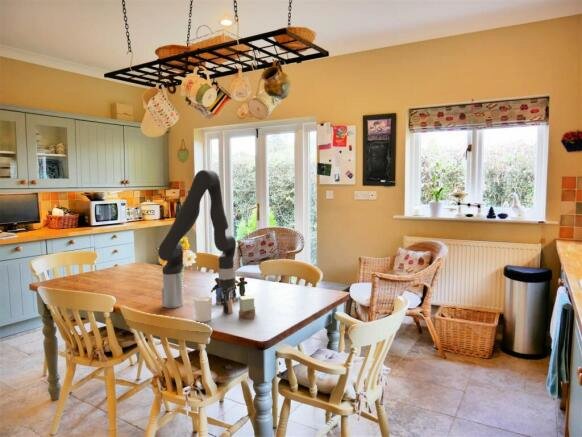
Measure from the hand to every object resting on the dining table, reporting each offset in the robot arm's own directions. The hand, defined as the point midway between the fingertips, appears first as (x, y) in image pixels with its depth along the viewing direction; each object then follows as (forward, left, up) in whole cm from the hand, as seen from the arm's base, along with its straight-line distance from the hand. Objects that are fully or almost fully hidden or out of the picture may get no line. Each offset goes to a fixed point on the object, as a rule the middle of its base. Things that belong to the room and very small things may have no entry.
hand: (227, 311), depth 202 cm
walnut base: (+11, -5, -1) cm, 12 cm away
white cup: (-8, -11, -1) cm, 14 cm away
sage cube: (+11, -5, +3) cm, 12 cm away
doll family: (-5, +20, -1) cm, 21 cm away
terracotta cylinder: (0, 0, -1) cm, 1 cm away
